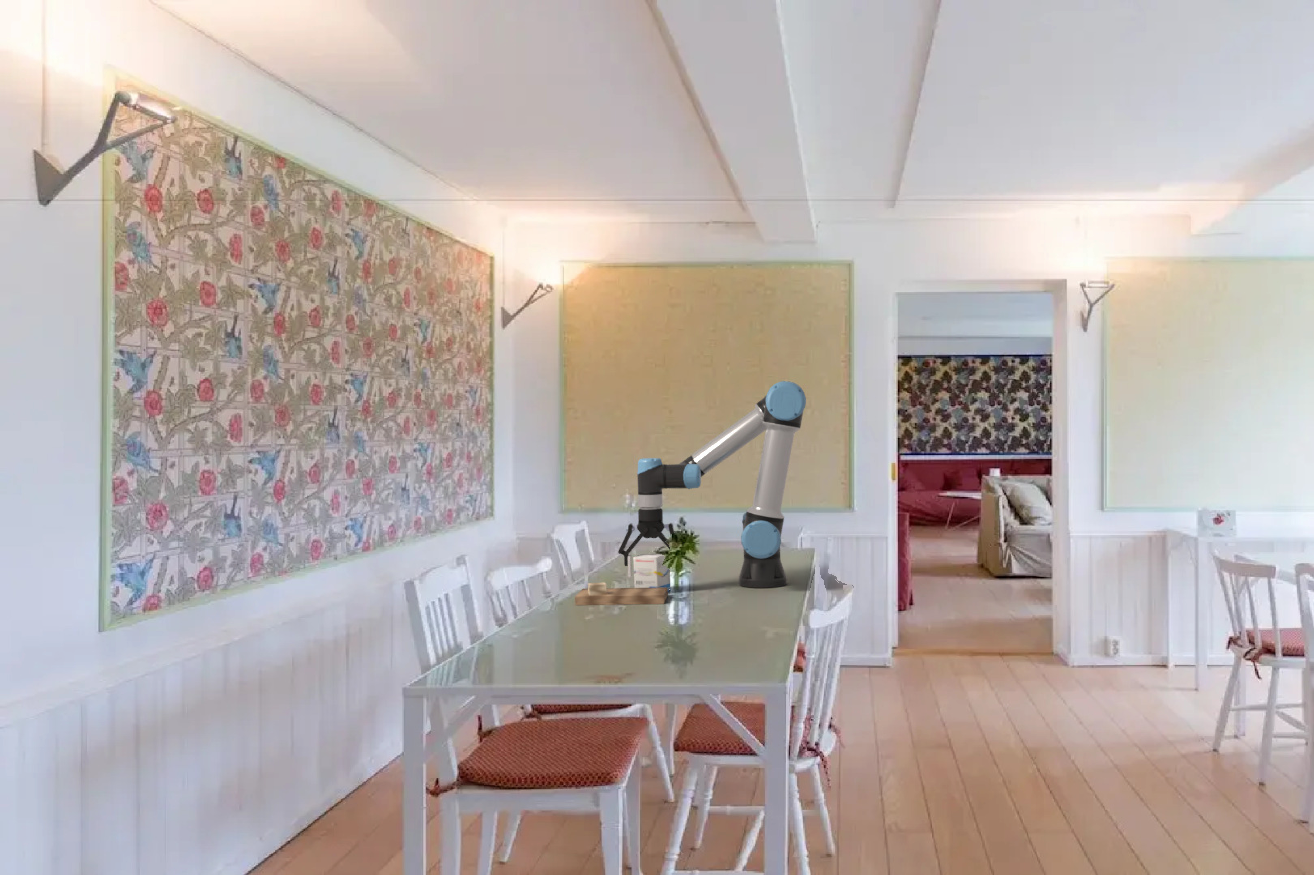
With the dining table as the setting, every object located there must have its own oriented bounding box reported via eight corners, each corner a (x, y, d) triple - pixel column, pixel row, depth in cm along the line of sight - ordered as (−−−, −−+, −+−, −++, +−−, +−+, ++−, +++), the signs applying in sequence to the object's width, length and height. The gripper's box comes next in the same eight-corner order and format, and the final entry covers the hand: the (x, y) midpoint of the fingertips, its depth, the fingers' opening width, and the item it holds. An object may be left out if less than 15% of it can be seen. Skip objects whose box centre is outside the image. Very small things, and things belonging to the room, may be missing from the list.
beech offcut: (605, 592, 303) (604, 582, 303) (606, 594, 299) (606, 584, 299) (588, 593, 302) (588, 583, 302) (589, 595, 298) (589, 585, 298)
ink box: (671, 591, 317) (670, 553, 317) (657, 595, 309) (656, 557, 309) (647, 589, 321) (646, 552, 321) (633, 593, 314) (632, 556, 314)
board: (667, 595, 309) (667, 586, 308) (663, 603, 295) (663, 594, 295) (583, 596, 311) (582, 588, 311) (575, 605, 297) (575, 596, 297)
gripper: (691, 506, 316) (692, 574, 317) (612, 507, 319) (613, 574, 319) (689, 508, 309) (691, 578, 309) (608, 509, 311) (610, 578, 312)
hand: (651, 576), depth 314 cm, fingers open, 13 cm apart
